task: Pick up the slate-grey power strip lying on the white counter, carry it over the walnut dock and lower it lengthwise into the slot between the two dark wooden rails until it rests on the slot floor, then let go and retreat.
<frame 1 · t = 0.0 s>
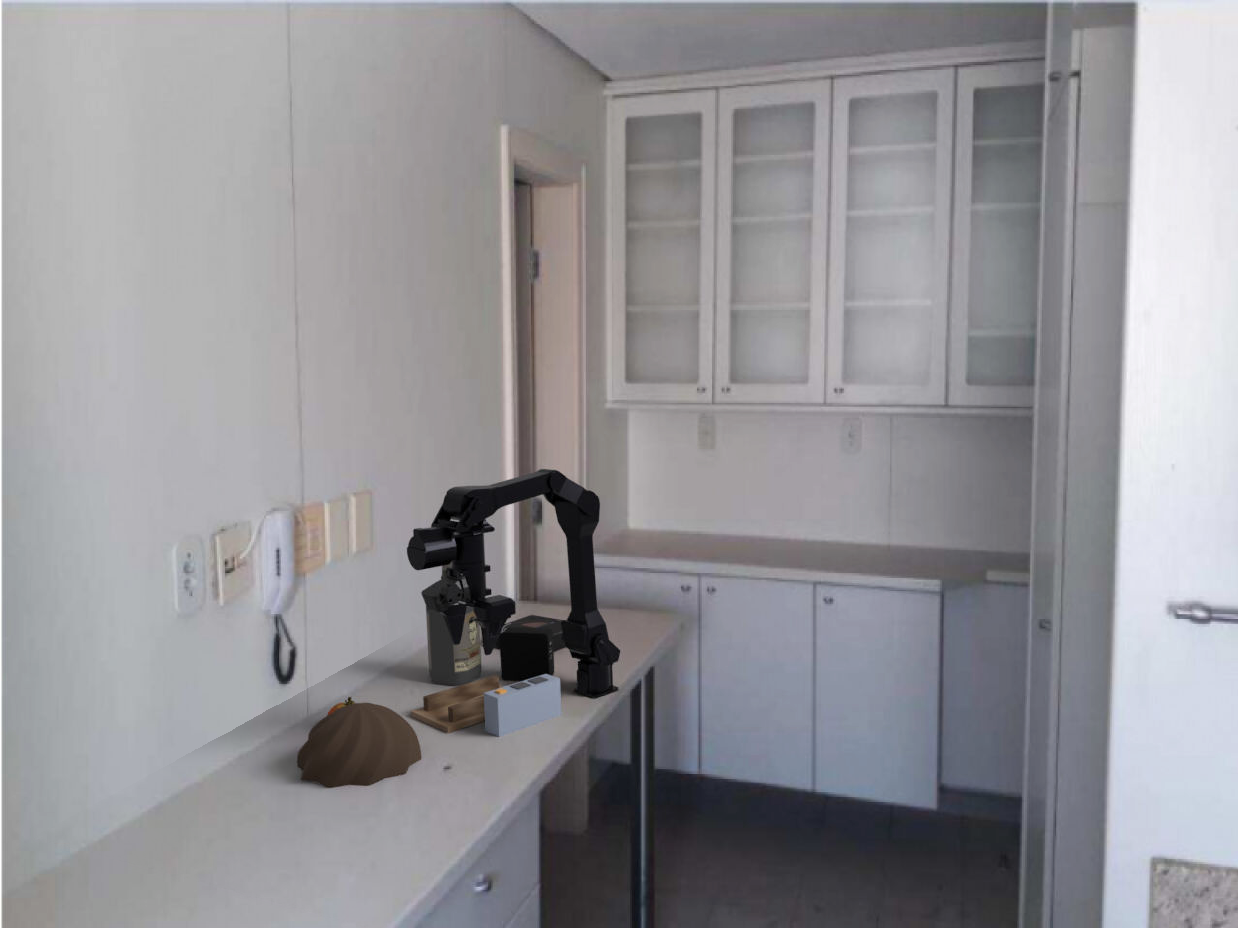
hand: (472, 649, 173), 15 cm above the countertop, tool pointing down, fingers open, 9 cm apart
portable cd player: (534, 645, 228), on the countertop
tomato: (350, 727, 179), on the countertop
dock: (475, 709, 185), on the countertop
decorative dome: (360, 764, 162), on the countertop
power strip: (524, 723, 178), on the countertop
electronic device: (528, 679, 203), on the countertop
liquor: (455, 679, 204), on the countertop
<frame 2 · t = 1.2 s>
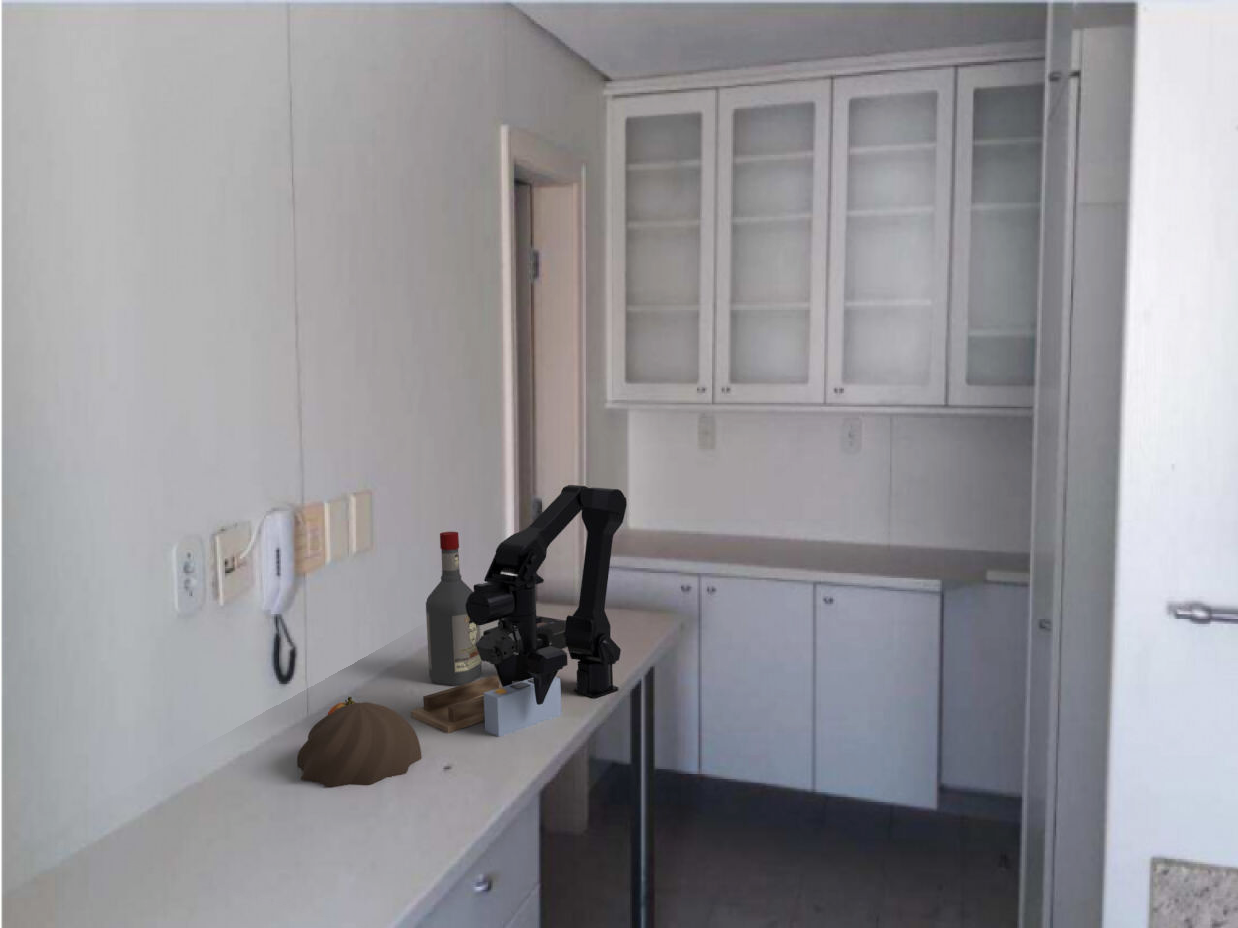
hand: (523, 698, 177), 4 cm above the countertop, tool pointing down, fingers open, 9 cm apart
nothing on the countertop moved.
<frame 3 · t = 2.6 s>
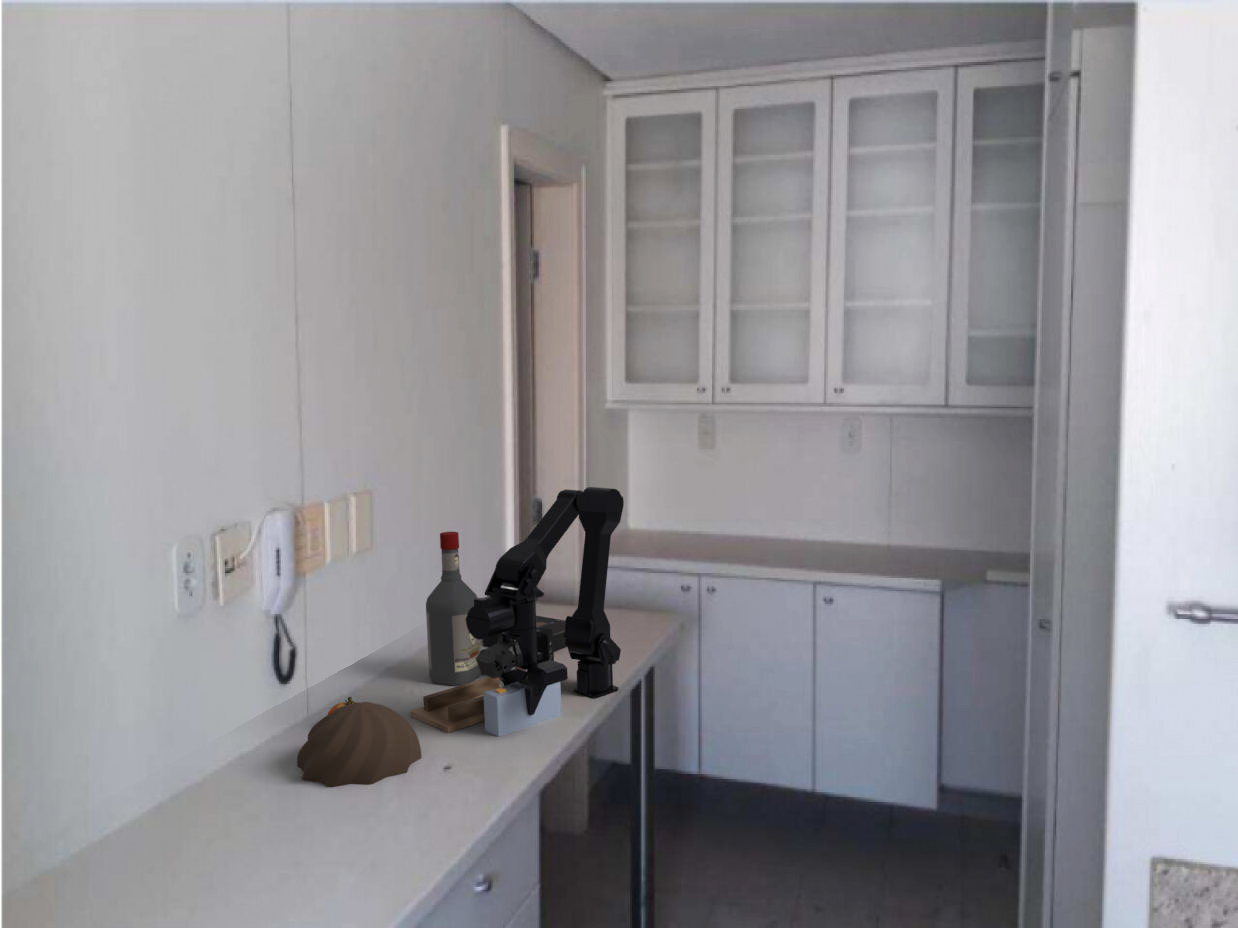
hand: (523, 711, 178), 2 cm above the countertop, tool pointing down, fingers closed on power strip, 4 cm apart
power strip: (523, 722, 178), on the countertop, touching gripper
everything else where it was.
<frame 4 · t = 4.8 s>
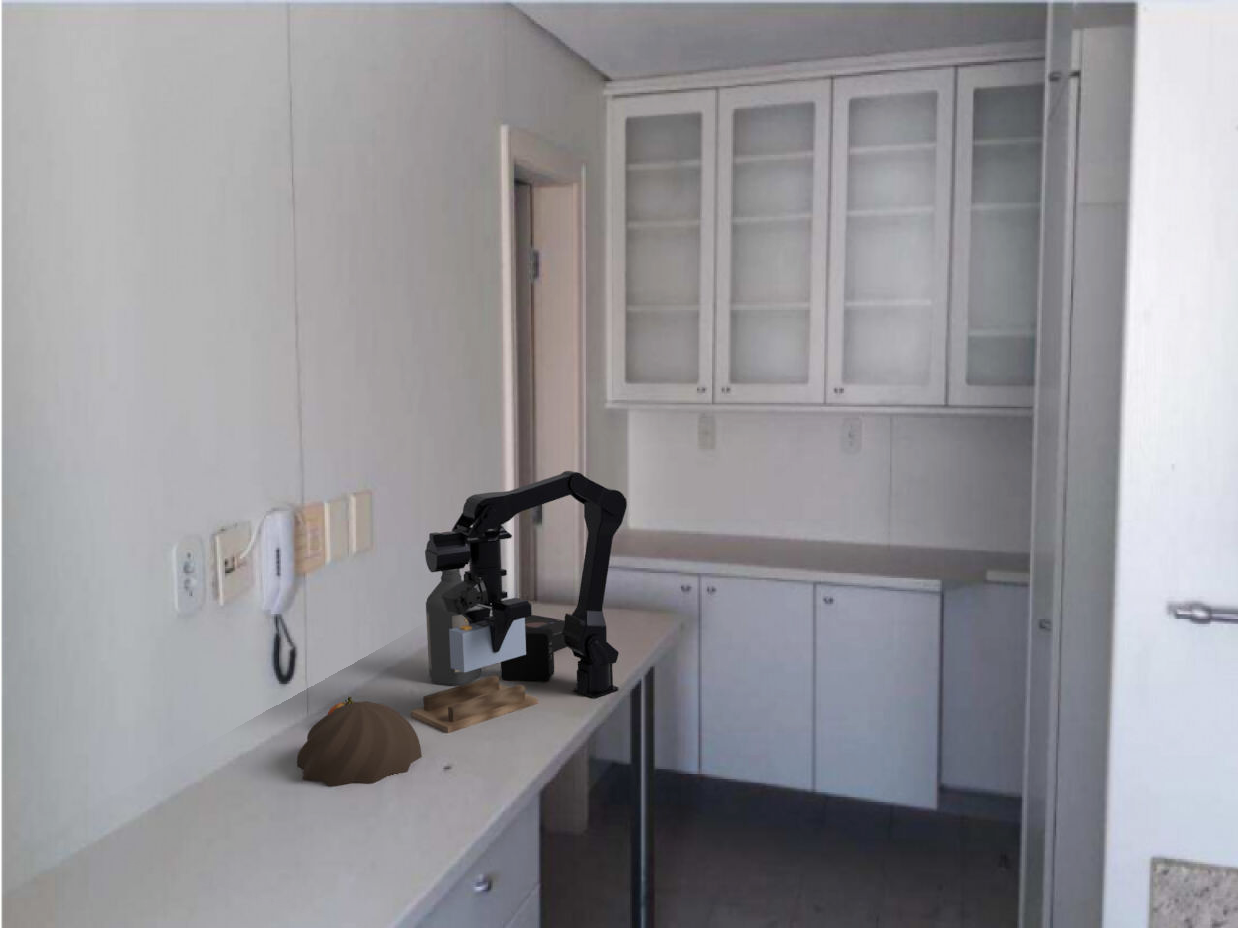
hand: (488, 649, 181), 12 cm above the countertop, tool pointing down, fingers closed on power strip, 4 cm apart
power strip: (489, 660, 181), point 10 cm above the countertop, touching gripper
everything else where it was.
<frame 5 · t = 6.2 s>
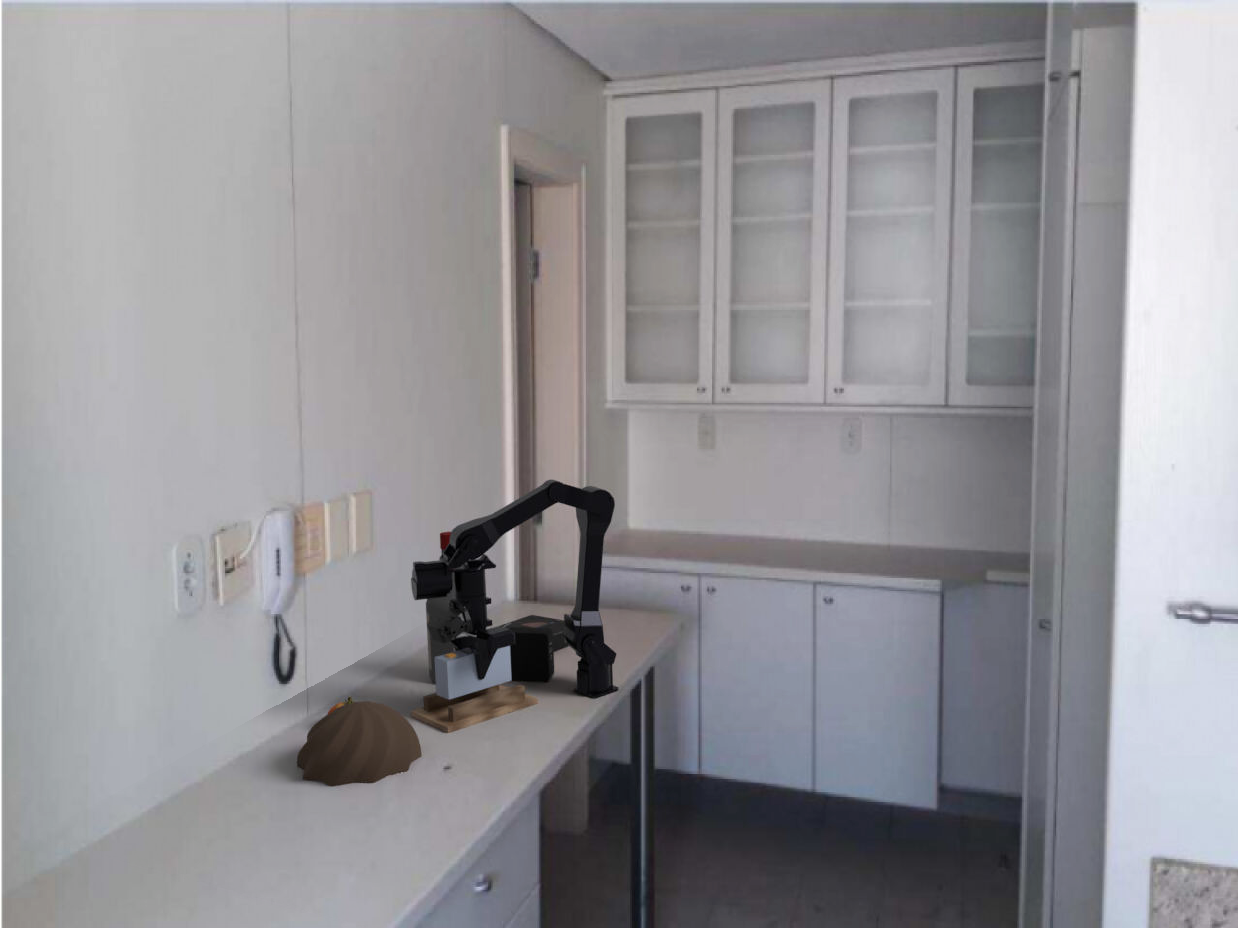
hand: (474, 676, 184), 6 cm above the countertop, tool pointing down, fingers closed on power strip, 4 cm apart
power strip: (474, 687, 185), point 4 cm above the countertop, touching gripper
everything else where it was.
when the fingers open (4 cm above the countertop, at t = 7.3 s): power strip drops 1 cm, resting on dock.
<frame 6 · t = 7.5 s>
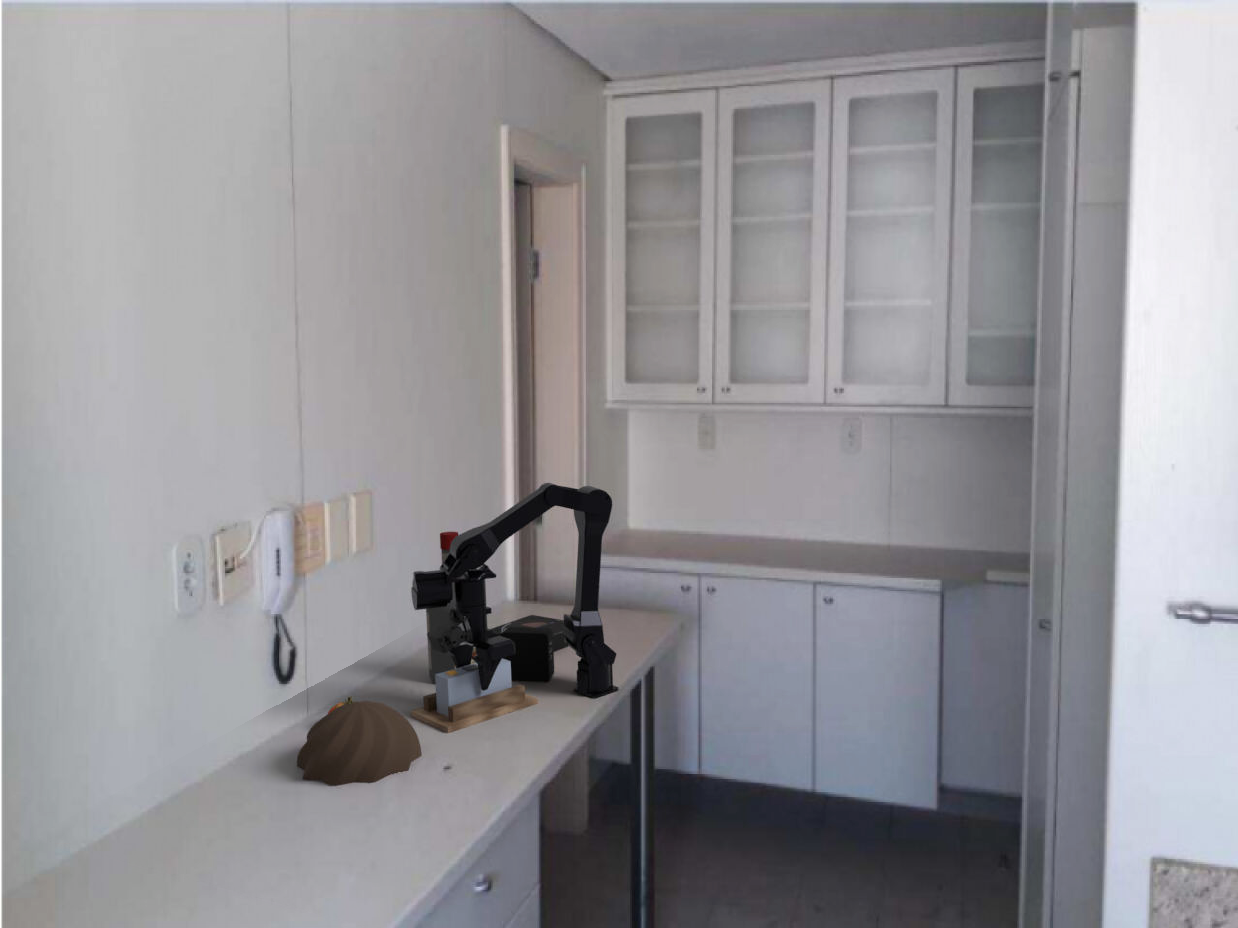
hand: (474, 686, 185), 4 cm above the countertop, tool pointing down, fingers open, 6 cm apart
power strip: (475, 704, 185), point 1 cm above the countertop, touching dock
everything else where it was.
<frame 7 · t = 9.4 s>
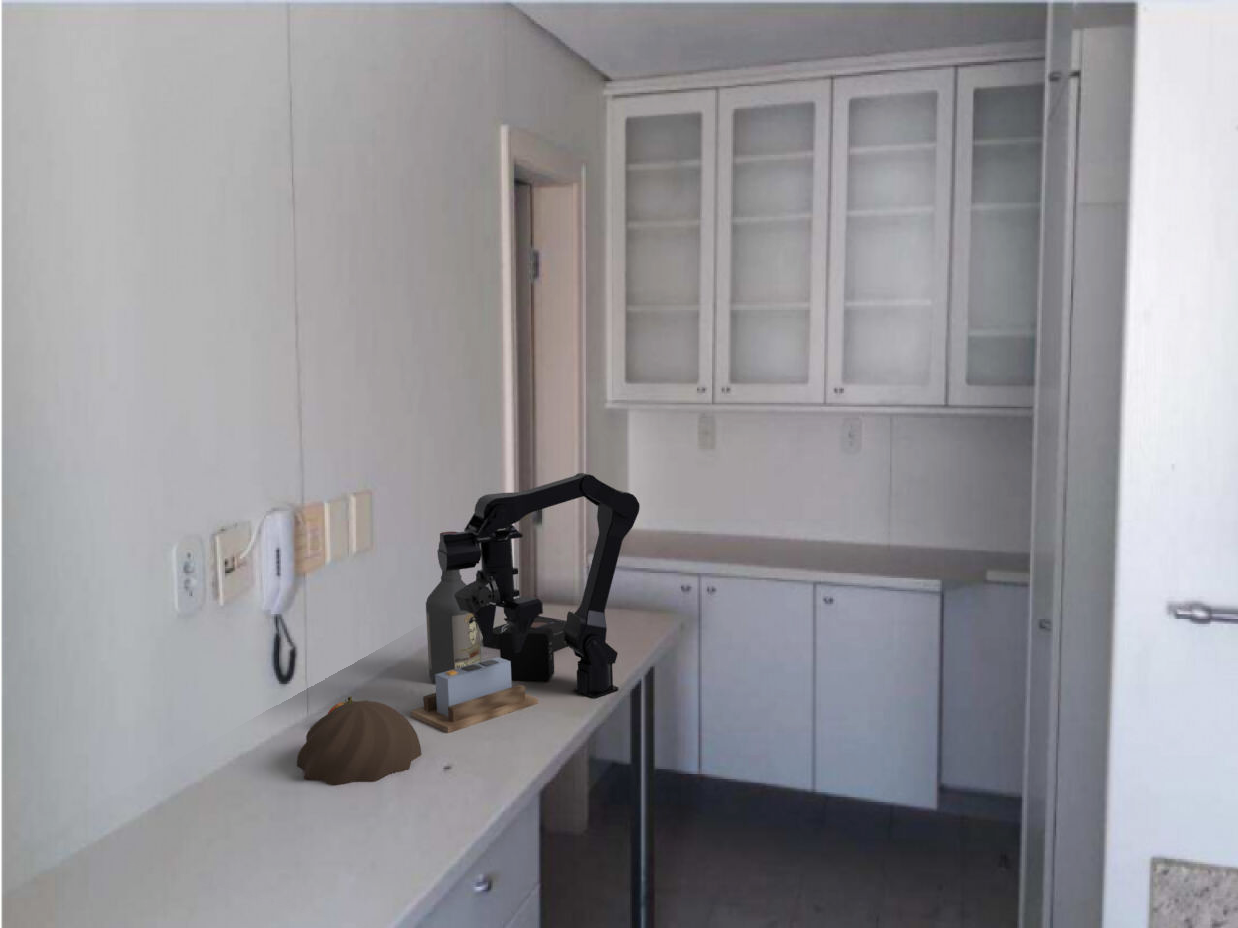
hand: (502, 647, 184), 12 cm above the countertop, tool pointing down, fingers open, 9 cm apart
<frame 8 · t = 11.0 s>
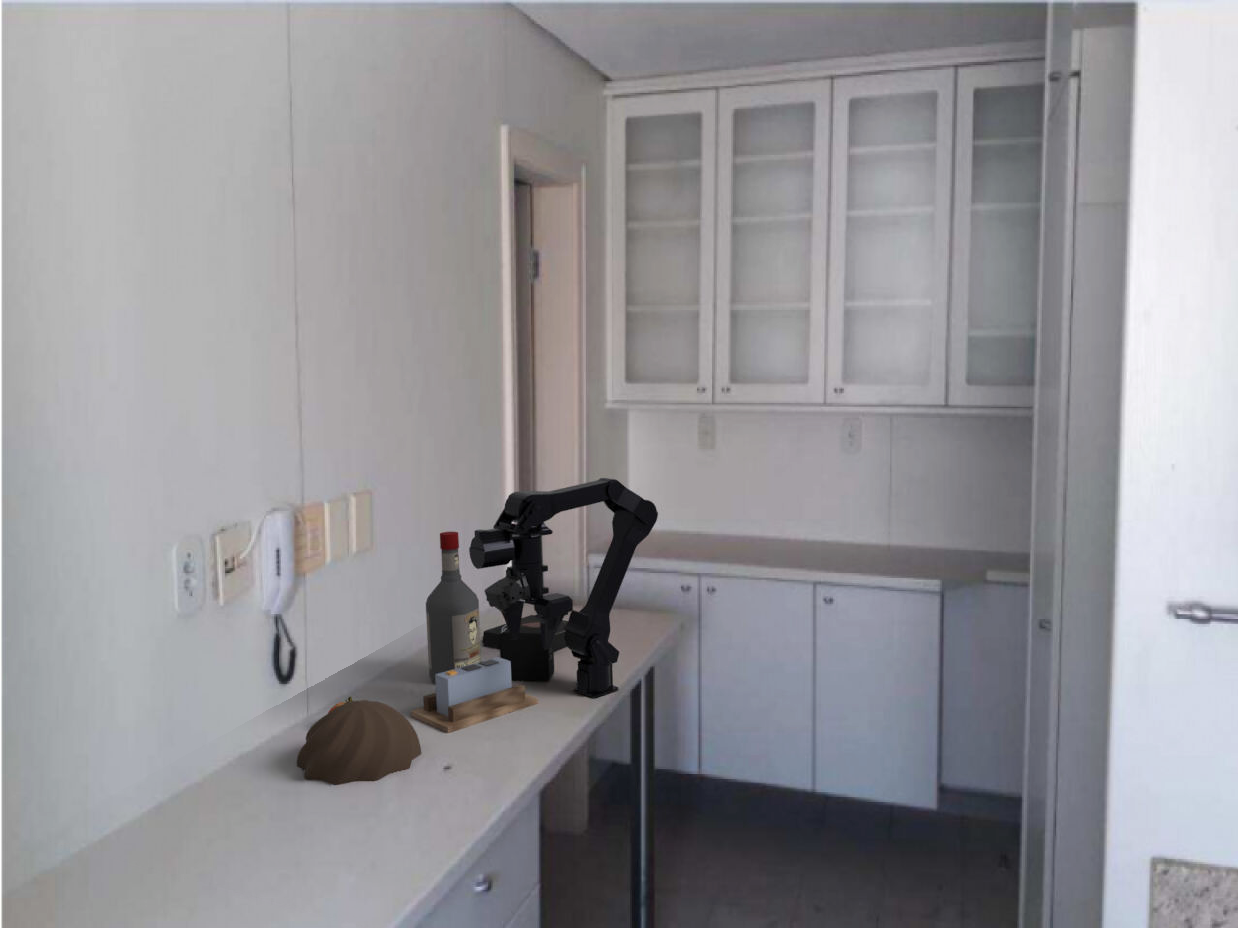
hand: (530, 644, 184), 12 cm above the countertop, tool pointing down, fingers open, 9 cm apart
at the end: power strip 0.0 cm off-centre on the dock, point 1.0 cm above the dock's base; power strip tilted 0°; the gripper is holding nothing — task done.
